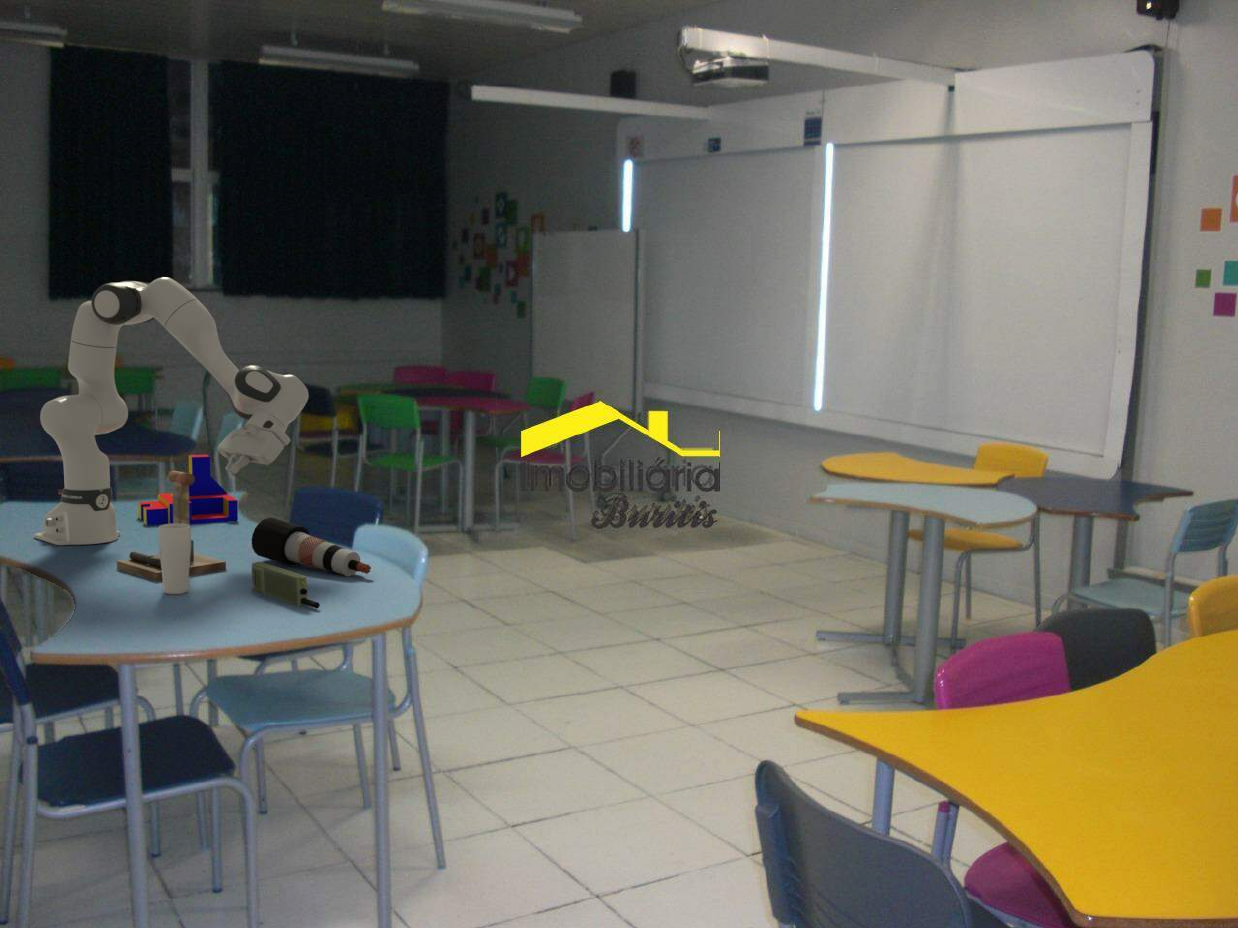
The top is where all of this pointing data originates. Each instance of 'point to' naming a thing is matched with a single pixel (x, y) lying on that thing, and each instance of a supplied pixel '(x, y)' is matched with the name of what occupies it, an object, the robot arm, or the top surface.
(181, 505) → the cutter lever
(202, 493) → the building blocks toy
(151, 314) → the robot arm
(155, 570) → the cutter board
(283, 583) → the handheld radio
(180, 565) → the drinking glass
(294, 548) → the cable
